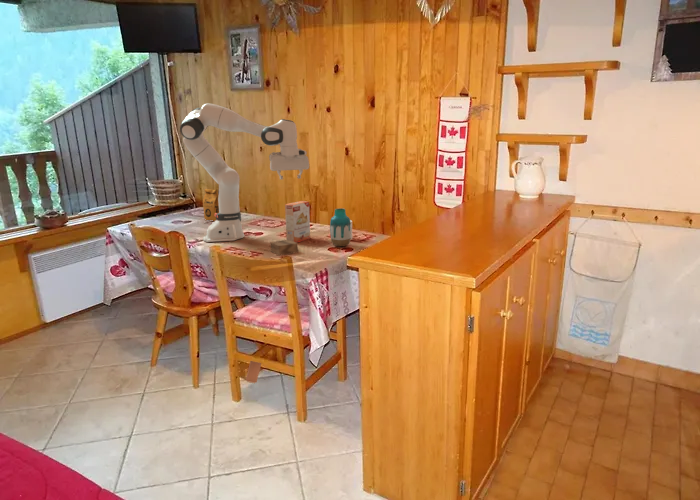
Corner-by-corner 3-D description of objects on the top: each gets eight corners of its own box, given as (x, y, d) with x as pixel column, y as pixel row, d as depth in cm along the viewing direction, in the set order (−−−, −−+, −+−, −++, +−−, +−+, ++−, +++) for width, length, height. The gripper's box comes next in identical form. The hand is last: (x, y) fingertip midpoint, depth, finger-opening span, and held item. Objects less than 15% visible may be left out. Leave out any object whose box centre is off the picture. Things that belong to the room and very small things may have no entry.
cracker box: (295, 244, 270) (293, 204, 264) (286, 242, 273) (284, 204, 268) (311, 238, 281) (309, 201, 276) (302, 237, 284) (300, 200, 279)
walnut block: (279, 256, 247) (278, 246, 246) (270, 252, 255) (270, 242, 254) (297, 252, 252) (297, 243, 251) (289, 249, 260) (288, 239, 259)
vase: (332, 243, 269) (330, 207, 264) (352, 243, 268) (351, 207, 263) (329, 248, 258) (328, 211, 254) (350, 248, 257) (349, 210, 253)
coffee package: (214, 225, 325) (211, 190, 320) (202, 223, 333) (199, 189, 328) (226, 222, 333) (224, 189, 328) (215, 220, 341) (212, 187, 335)
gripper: (270, 152, 257) (271, 180, 260) (309, 151, 263) (310, 178, 266) (267, 152, 262) (269, 179, 266) (306, 150, 269) (307, 177, 272)
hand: (290, 178), depth 266 cm, fingers open, 8 cm apart
